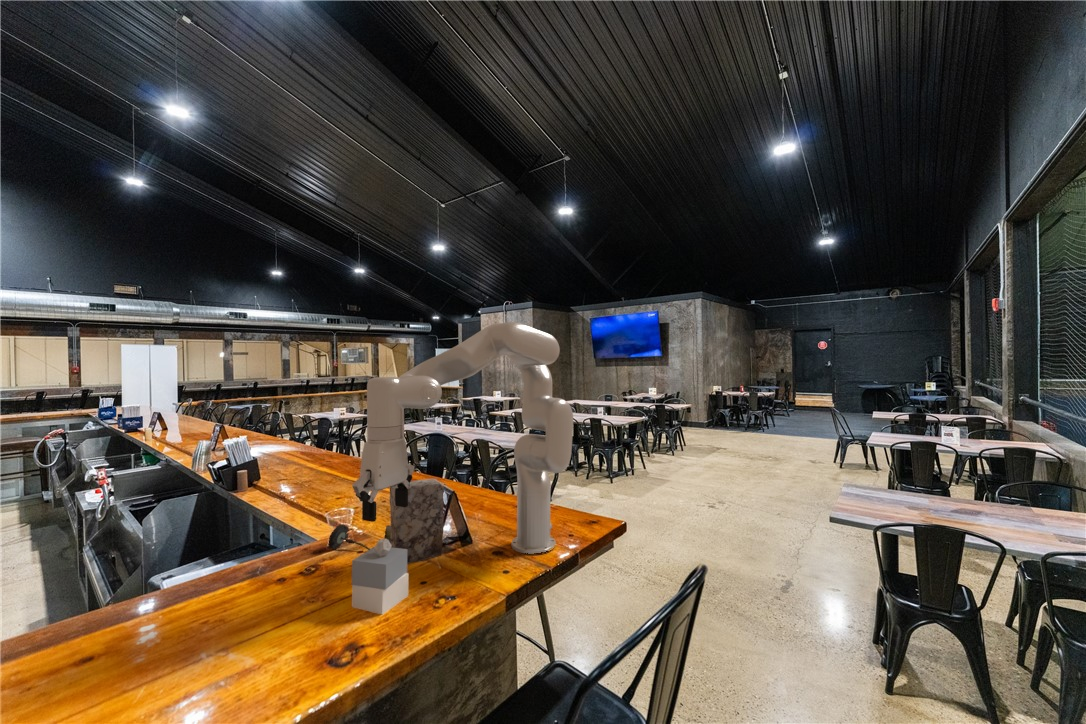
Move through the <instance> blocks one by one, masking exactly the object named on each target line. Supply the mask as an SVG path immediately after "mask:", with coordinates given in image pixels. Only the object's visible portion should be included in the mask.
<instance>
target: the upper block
mask: <svg viewBox="0 0 1086 724" xmlns="http://www.w3.org/2000/svg"><path fill="white" fill-rule="evenodd" d="M374 548H375V546H374V547H370V550H368V549H367V551H365V552H363V553H362V554H360V555H358V556H357V557H355V558H354V559H352V560H351V562H352V563H351V586H352V585H356V586H364V587H371V588H378V589H387V588H388V587H389V586H391V585H392V584H393V583H394V582H395V581H397V580H398V579H399V578H400V577H402V576H403V575H404V574H405V573H408V564H407V549H401V548H392V547H391V549H390V551H389V552H388V554H387V556H381V557H380V556H378V555H377V553H376V552H375V550H374Z"/></svg>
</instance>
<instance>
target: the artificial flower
mask: <svg viewBox="0 0 1086 724" xmlns="http://www.w3.org/2000/svg"><path fill="white" fill-rule="evenodd" d="M349 531H350V530H349V527H348V525H344V524H338V525H337V526H336V527H335V528H334V529H333V531H332V532H331V533H330V535H329V537H328V539H329V540H328V543H327V545H328V548H329V549H331V550H332V549H333V550H337V549H338V548H340V547H341V545H342V544H343V542H344V541H345V542H346V543H348V544H356V545H358V546H360V547H363V548H365V549H366V550H367V551H368V550H370V549H371V547H368V546H366V544H365V545H364V543H361V542H357V541H356V540H353V539H348V538H349V534H350V533H349ZM383 539H388V540H389V542H390V543H391V524H389V525H386V526H385V530H384V538H383Z"/></svg>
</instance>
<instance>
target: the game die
mask: <svg viewBox="0 0 1086 724" xmlns="http://www.w3.org/2000/svg"><path fill="white" fill-rule="evenodd" d="M374 547H375V548H374V550H375V552H376V553H377V555H378V556H380V557H381V556H387V554H388V552H389V551H390V549H391V547H392V545H391V543H390V542H389V540H388V539H384V538H381V539H378V541H377V543H376V545H375V546H374Z"/></svg>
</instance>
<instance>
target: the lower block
mask: <svg viewBox="0 0 1086 724" xmlns="http://www.w3.org/2000/svg"><path fill="white" fill-rule="evenodd" d="M351 586H352V587H351V594H352V595H351V607H352V608H355V609H359V610H363V611H365V612H366V611H367V612H370V613H373V614H379V615H382V616H383V615H384V614H386V613H387V612H388V611H390V610H391V609H393V608H394V607H395V606H397V605H398V604H399V603H401V602H402V601H404V599H406V598H408V597H409V572H406V573H405V574H404V575H403V576H402V577H400V578H399V579H398V580H397V581H395V582H394V583H393V584H392V585H391V586H389V587H388V588H387V589H378V588H371V587H364V586H356V585H352V584H351Z"/></svg>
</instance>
